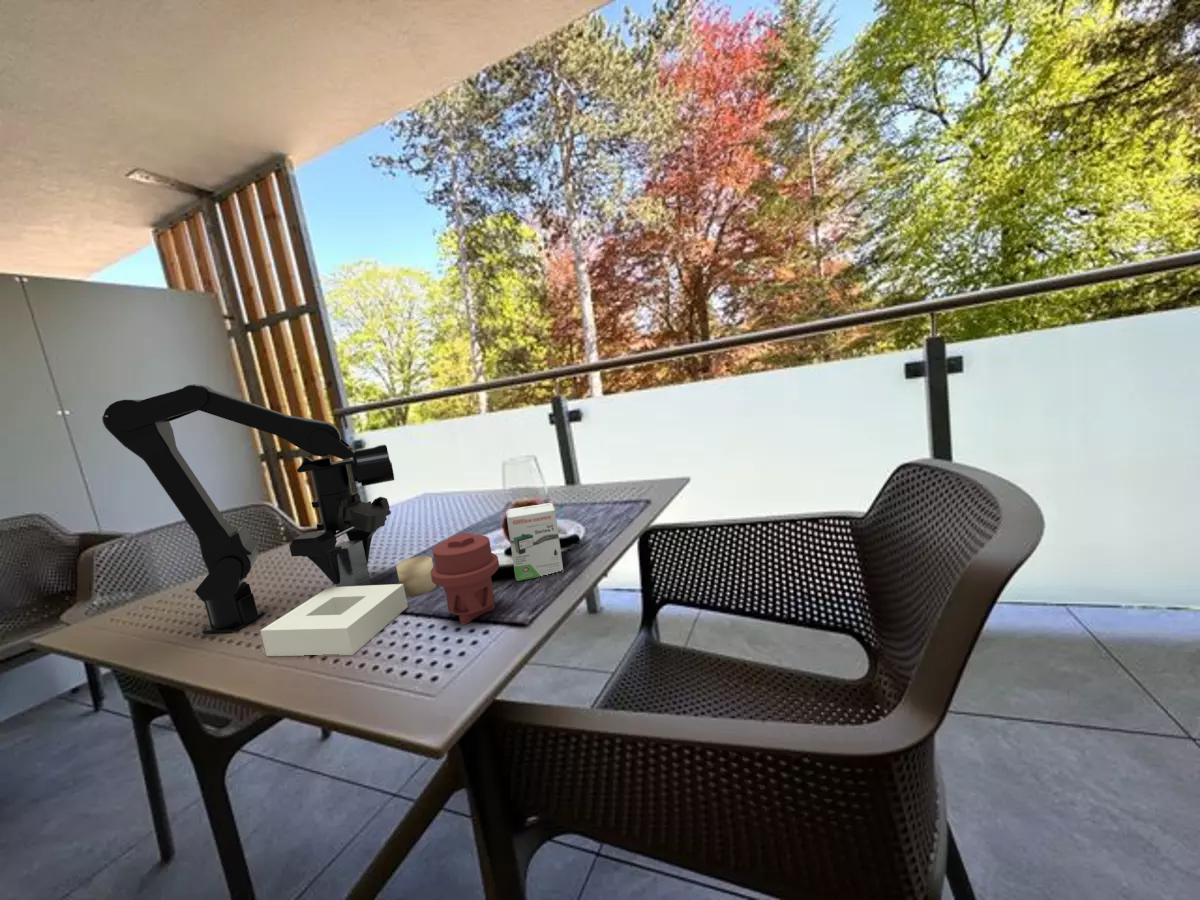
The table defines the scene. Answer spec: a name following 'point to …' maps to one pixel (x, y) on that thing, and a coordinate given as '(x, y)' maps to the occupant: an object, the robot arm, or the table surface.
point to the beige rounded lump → (416, 575)
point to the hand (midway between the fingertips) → (351, 574)
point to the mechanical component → (466, 574)
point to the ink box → (534, 541)
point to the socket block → (335, 621)
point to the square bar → (352, 564)
